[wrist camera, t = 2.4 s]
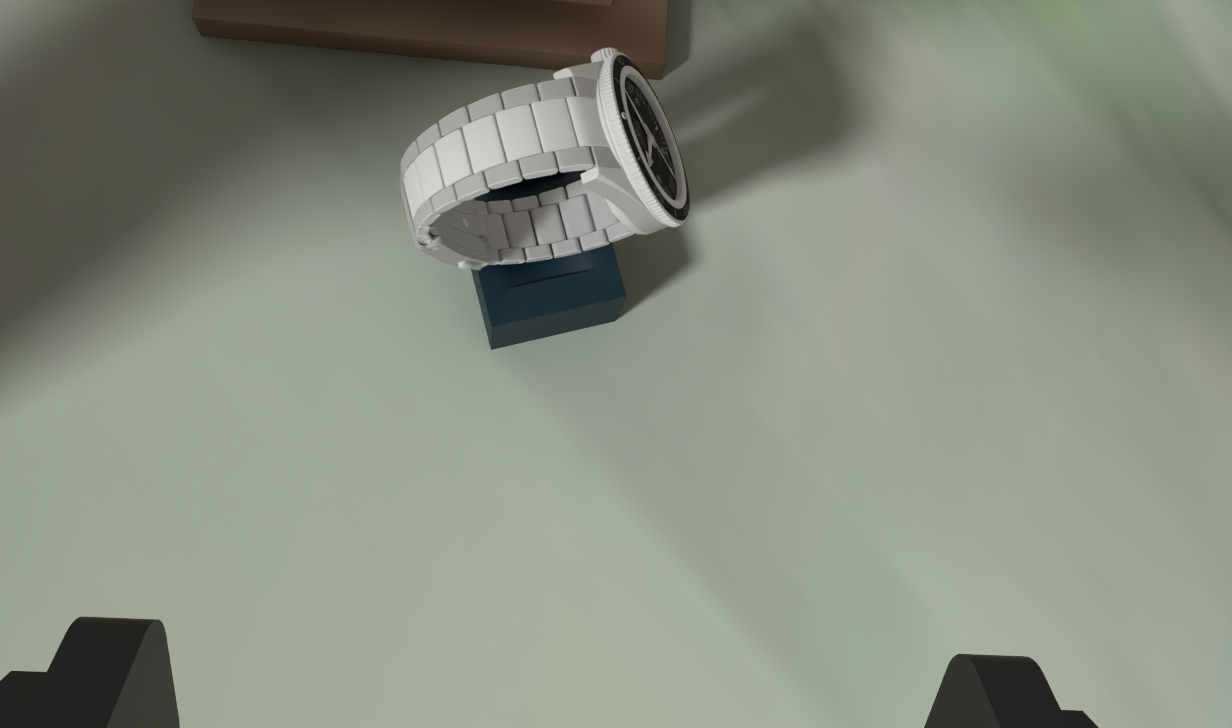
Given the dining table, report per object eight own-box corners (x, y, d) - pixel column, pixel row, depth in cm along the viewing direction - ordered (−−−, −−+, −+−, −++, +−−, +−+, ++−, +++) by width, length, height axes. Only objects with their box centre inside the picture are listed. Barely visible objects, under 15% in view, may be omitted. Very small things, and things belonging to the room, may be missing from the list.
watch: (669, 308, 38) (741, 193, 27) (438, 361, 37) (419, 263, 26) (627, 158, 39) (680, -9, 28) (401, 205, 38) (368, 48, 27)
